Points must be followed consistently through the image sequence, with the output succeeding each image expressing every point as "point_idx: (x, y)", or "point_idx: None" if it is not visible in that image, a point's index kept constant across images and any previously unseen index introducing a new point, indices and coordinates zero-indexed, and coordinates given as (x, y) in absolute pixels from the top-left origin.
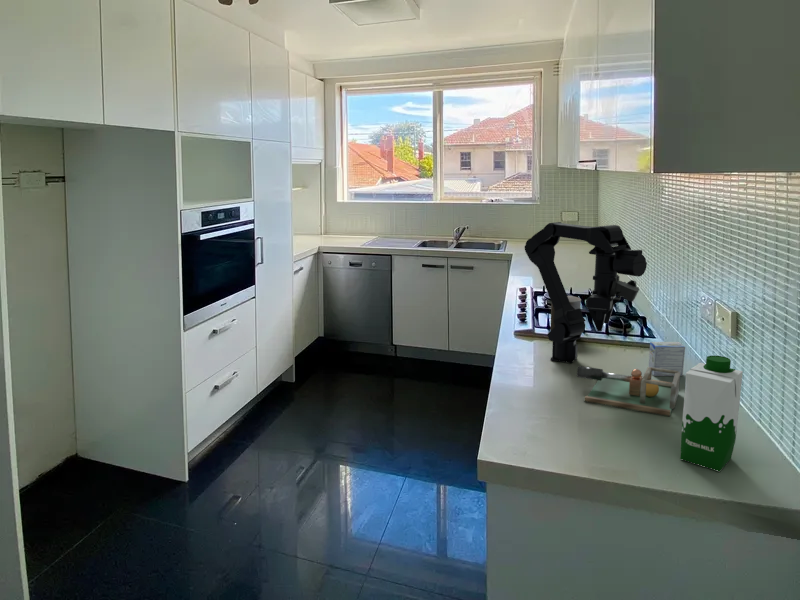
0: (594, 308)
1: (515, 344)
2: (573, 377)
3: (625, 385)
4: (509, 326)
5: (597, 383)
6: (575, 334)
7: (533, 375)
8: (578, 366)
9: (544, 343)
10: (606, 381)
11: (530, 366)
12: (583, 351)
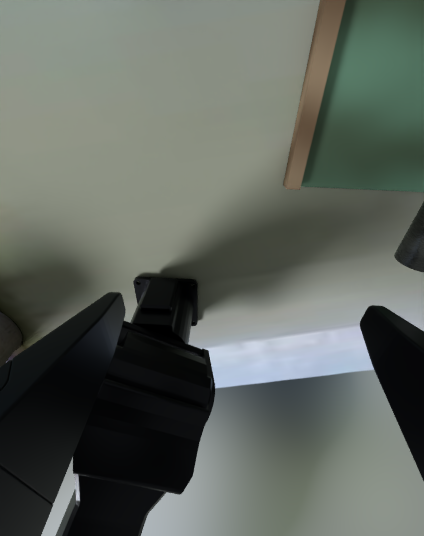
0: None
1: None
2: (313, 257)
3: (392, 71)
4: None
5: (373, 185)
6: (170, 347)
7: (317, 331)
8: None
9: None
10: (349, 158)
11: (256, 344)
12: (65, 269)
